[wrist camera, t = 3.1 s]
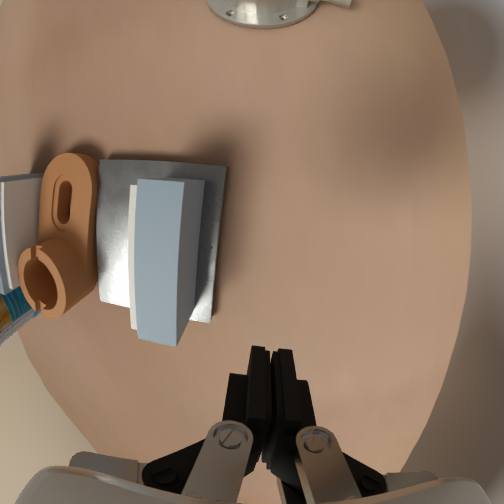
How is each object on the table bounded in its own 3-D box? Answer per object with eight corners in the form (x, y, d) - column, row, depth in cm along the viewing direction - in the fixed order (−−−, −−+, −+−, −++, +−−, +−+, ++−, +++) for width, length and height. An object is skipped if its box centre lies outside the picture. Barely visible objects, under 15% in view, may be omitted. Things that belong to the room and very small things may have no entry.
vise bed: (228, 166, 25) (226, 166, 24) (212, 316, 30) (210, 323, 28) (107, 159, 25) (99, 159, 24) (106, 295, 29) (100, 300, 28)
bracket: (97, 303, 30) (68, 329, 23) (52, 284, 30) (21, 304, 23) (111, 157, 25) (73, 155, 19) (60, 151, 25) (22, 150, 18)
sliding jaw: (205, 180, 24) (184, 182, 17) (194, 308, 28) (176, 346, 21) (161, 176, 24) (127, 178, 17) (156, 301, 28) (129, 336, 21)
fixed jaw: (49, 173, 25) (-3, 178, 17) (51, 271, 29) (8, 296, 20) (29, 173, 25) (-19, 179, 17) (32, 266, 29) (-10, 288, 20)
